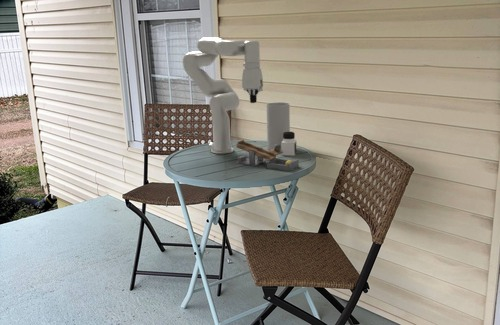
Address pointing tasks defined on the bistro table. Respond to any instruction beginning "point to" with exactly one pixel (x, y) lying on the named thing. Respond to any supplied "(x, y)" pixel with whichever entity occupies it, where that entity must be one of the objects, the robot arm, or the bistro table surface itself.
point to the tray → (282, 164)
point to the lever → (260, 150)
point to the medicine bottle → (288, 144)
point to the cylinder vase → (277, 123)
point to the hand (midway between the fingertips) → (253, 102)
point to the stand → (250, 159)
